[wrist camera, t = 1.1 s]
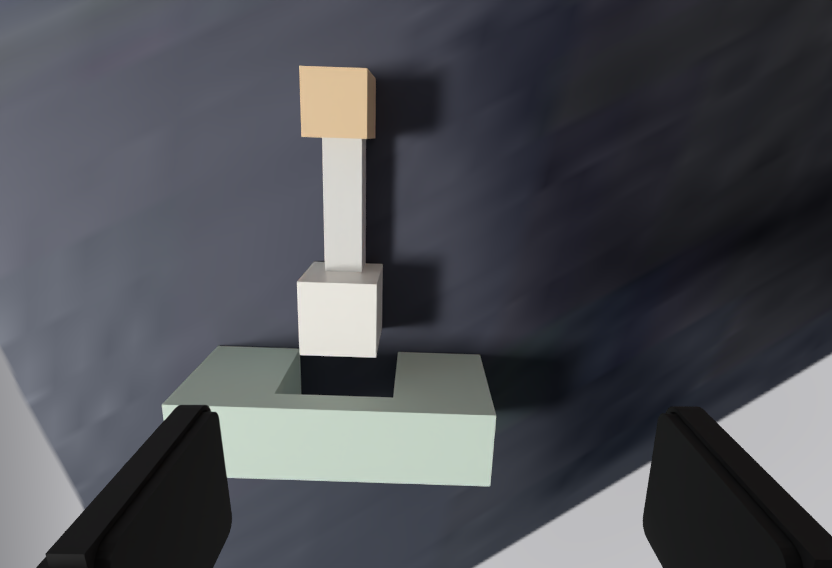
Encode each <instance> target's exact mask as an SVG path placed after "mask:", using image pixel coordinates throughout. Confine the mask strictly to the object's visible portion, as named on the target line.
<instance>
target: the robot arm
mask: <svg viewBox="0 0 832 568" xmlns="http://www.w3.org/2000/svg"><path fill="white" fill-rule="evenodd" d="M231 523H232V513H231V505H230V498H229V490H228V482H227V475H226V467H225V459H224V452H223V444H222V436H221V429H220V421H219V416H218V414H217V412H211V409H210V408H209V406H208V405H178V406H177V407H176V408H175V409H174V410H173V411H172V412H171V414H170V415H169V416H168V417H167V418H166V419H165V420H164V421H163V423H162V424H161V425H160V426H159V427H158V428H157V429H156V430H155V432H154V433H153V434H152V435H151V436H150V437H149V438H148V439H147V441H146V442H145V443H144V444H143V445H142V446H141V447H140V448H139V449H138V451H137V452H136V453H135V454H134V455H133V456H132V457H131V458H130V460H129V461H128V462H127V463H126V464H125V465H124V466H123V467H122V469H121V470H120V471H119V472H118V473H117V474H116V475H115V476H114V478H113V479H112V480H111V481H110V482H109V483H108V484H107V485H106V487H105V488H104V489H103V490H102V491H101V492H100V493H99V494H98V495H97V497H96V498H95V499H94V500H93V501H92V502H91V503H90V504H89V506H88V507H87V508H86V509H85V510H84V511H83V512H82V513H81V515H80V516H79V517H78V518H77V519H76V520H75V521H74V523H73V524H72V525H71V526H70V527H69V528H68V529H67V530H66V531H65V533H64V534H63V535H62V536H61V537H60V538H59V540H58V541H57V542H56V543H55V544H54V545H53V546H52V547H51V548H50V549H49V551H48V552H47V553H46V557H45V559H44V560H43V561H42V562H41V563H40V564H39V565H38V566H37V568H213V567H214V564H215V562H216V560H217V558H218V556H219V554H220V552H221V550H222V548H223V546H224V544H225V542H226V539H227V537H228V535H229V533H230V529H231ZM643 527H644V532H645V535H646V537H647V539H648V541H649V543H650V545H651V547H652V549H653V550H654V552H655V554H656V556H657V558H658V559H659V561H660V563H661V565H662V567H663V568H832V536H831V535H830V534H829V533H828V532H827V531H826V530H825V529H824V528H823V527H822V526H821V525H820V524H819V523H818V522H817V521H816V520H815V519H814V518H813V517H812V516H810V514H809V513H808V512H807V511H806V510H805V509H804V508H802V506H800V505H799V504H798V503H797V502H796V501H795V500H794V499H793V498H792V497H791V496H790V495H789V494H788V493H787V492H786V491H785V490H784V489H783V488H782V487H781V486H780V485H779V484H778V483H777V482H776V481H775V480H774V479H773V478H772V477H771V476H770V475H769V474H768V473H767V472H766V471H765V470H764V469H763V468H762V467H761V466H760V465H759V464H758V463H757V462H756V461H755V460H754V459H753V458H752V457H751V456H750V455H749V454H748V453H747V452H746V451H745V450H744V449H743V448H742V447H741V446H740V445H739V444H738V443H737V442H736V441H735V440H734V439H733V438H732V437H730V435H729V434H728V433H727V432H726V431H725V430H724V429H722V427H720V425H719V424H718V423H717V422H716V421H715V420H713V419H712V418H711V417H710V416H709V415H708V414H707V413H706V412H705V411H704V410H703V409H702V408H700V407H670V408H668V410H667V411H666V414H661V415H660V416H659V418H658V423H657V429H656V436H655V442H654V449H653V455H652V462H651V468H650V475H649V482H648V488H647V494H646V502H645V507H644V514H643Z"/></svg>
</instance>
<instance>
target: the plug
mask: <svg viewBox="0 0 832 568" xmlns="http://www.w3.org/2000/svg"><path fill="white" fill-rule="evenodd" d="M299 71H300V103H301V136H302V137H322V148H323V198H324V249H325V262H313V263H312V265H311V266H310V267H309V268H308V269H307V271H306V272H305V273H304V274H303V275H302V276H301V278H300V279H299V280H298V281H297V296H298V323H299V351H300V355H311V356H341V357H371V358H376V355H377V350H378V345H379V340H380V336H381V331H382V291H383V264H371V263H366V139H372V138H375V121H376V78H375V77H374V76H373V75H372V73H371V72H370V71H369V70H368V69H367V68H345V67H314V66H299Z"/></svg>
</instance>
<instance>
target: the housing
mask: <svg viewBox="0 0 832 568" xmlns="http://www.w3.org/2000/svg"><path fill="white" fill-rule="evenodd" d="M178 405H208V406H209V408H210V409H211V412H217V414H218V416H219V421H220V429H221V436H222V444H223V452H224V459H225V467H226V475H227V478H253V479H284V480H314V481H344V482H375V483H405V484H435V485H465V486H490V481H491V469H492V458H493V446H494V435H495V423H496V413H495V409H494V406H493V402H492V398H491V395H490V391H489V387H488V383H487V380H486V376H485V372H484V368H483V365H482V361H481V357H480V355H477V354H447V353H416V352H398V357H397V366H396V376H395V385H394V395H393V398H391V397H361V396H330V395H301V367H300V351H299V349H296V348H265V347H235V346H217V348H216V349H215V350H214V351H213V352H212V353H211V354H210V355H209V356H208V357H207V358H206V359H205V360H204V361H203V362H202V363H201V364H200V365H199V366H198V367H197V368H196V369H195V370H194V371H193V373H192V374H191V375H190V376H189V377H188V378H187V379H186V380H185V381H184V382H183V383H182V384H181V385H180V386H179V387H178V388H177V389H176V390H175V391H174V392H173V393H172V394H171V395H170V396H169V398H168V399H167V400H166V401H165V402H164V403H163V404H162V411H163V419H164V420H165V419H166V418H167V417H168V416H169V415H170V414H171V412H172V411H173V410H174V409H175V408H176V407H177V406H178Z"/></svg>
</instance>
